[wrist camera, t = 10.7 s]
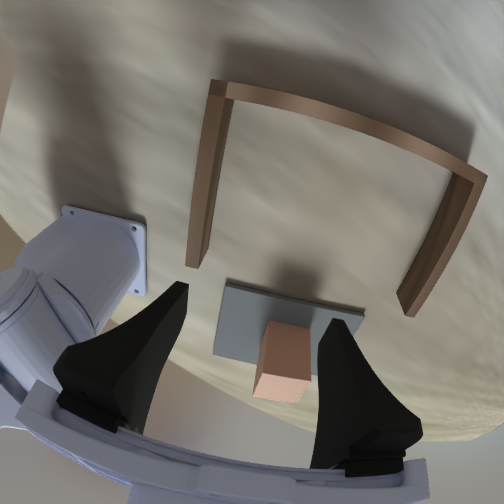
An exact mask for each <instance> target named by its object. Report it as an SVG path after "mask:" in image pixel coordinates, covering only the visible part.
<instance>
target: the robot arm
mask: <svg viewBox="0 0 504 504" xmlns="http://www.w3.org/2000/svg"><path fill="white" fill-rule="evenodd" d="M73 212H74V213H73ZM133 226H135V227H136V229H135V228H134V227H133ZM136 289H137V290H138V291H137V290H136ZM188 289H189V284H186V283H183V282H179V281H176V282H175V283H173V284H172V285H171V286H170V287H169V288H168V289H167V290H166V291H165V292H164V293H163V294H162V295H161V296H159V297H158V298H157V299H156V300H155V301H153V302H152V303H151V304H150V305H149V306H147V307H146V308H145V309H143V310H142V311H141V312H139V313H138V314H137V315H135V316H134V317H132V318H131V319H129V320H128V321H126V322H124V323H123V324H121V325H119V326H117V327H116V328H114V329H112V330H110V331H108V332H106V333H104V334H101V335H99V333H100V331H101V330H102V329H103V327H104V325H105V324H106V322H107V321H108V319H109V318H110V316H111V315H112V313H113V312H114V310H115V309H116V307H117V306H118V304H119V303H120V301H121V300H122V298H123V297H124V296H125V294H126V293H127V292H130V293H133V294H136V295H139V296H145V295H146V293H147V282H146V227H145V225H144V224H142V223H139V222H135V221H131V220H126V219H122V218H118V217H114V216H110V215H106V214H101V213H97V212H93V211H89V210H85V209H80V208H76V207H72V206H68V205H65V206H63V207H62V216H61V217H60V218H59V219H57V220H56V221H55V222H53V223H52V224H51V225H50V226H48V227H47V228H46V229H44V230H43V231H42V232H41V233H39V234H38V235H37V236H36V237H34V238H33V239H32V240H31V241H29V242H28V243H27V244H26V245H25V246H24V247H23V249H22V250H21V252H20V253H19V255H18V258H17V260H16V263H15V267H13V268H11V269H9V270H7V271H5V272H3V273H2V274H0V429H1V428H2V427H12V428H18V429H25V430H28V431H29V432H30V433H31V434H32V435H34V436H35V437H36V438H37V439H39V440H40V441H42V442H43V443H45V444H46V445H48V446H50V447H51V448H53V449H54V450H56V451H58V452H60V453H61V454H63V455H64V456H66V457H68V458H70V459H71V460H73V461H75V462H77V463H79V464H80V465H82V466H84V467H86V468H88V469H90V470H92V471H94V472H96V473H98V474H100V475H102V476H104V477H106V478H108V479H111V480H112V481H115V482H117V483H119V484H122V485H124V486H126V487H129V488H131V492H130V495H129V498H128V501H127V504H417V503H419V502H422V501H425V500H428V499H429V498H430V492H429V482H428V473H427V466H426V459H425V458H422V459H415V460H409V461H405V462H403V457H405V456H406V452H405V450H406V449H407V448H409V447H410V446H412V445H413V444H415V443H416V442H418V441H419V440H420V439H421V438H422V436H423V430H422V425H421V420H420V418H418V417H417V416H416V415H414V414H413V413H412V412H411V411H409V410H408V409H407V408H406V407H405V406H404V405H403V404H402V403H400V402H399V401H398V400H397V399H396V398H395V397H394V396H393V395H392V393H391V392H390V391H389V390H388V389H387V388H386V387H385V385H384V384H383V383H382V382H381V380H380V379H379V378H378V377H377V375H376V374H375V373H374V371H373V370H372V368H371V367H370V365H369V364H368V362H367V360H366V359H365V357H364V356H363V354H362V352H361V350H360V349H359V347H358V345H357V343H356V342H355V340H354V338H353V336H352V334H351V332H350V330H349V328H348V327H347V325H346V323H345V321H344V320H342V319H337V318H332V320H331V322H330V324H329V325H328V327H327V329H326V331H325V333H324V335H323V336H322V338H321V340H320V342H319V343H318V354H317V371H318V389H319V411H318V422H317V431H316V438H315V444H314V450H313V455H312V460H311V465H310V469H304V468H291V467H280V466H271V465H263V464H256V463H249V462H243V461H238V460H232V459H227V458H222V457H217V456H213V455H208V454H204V453H200V452H196V451H192V450H188V449H185V448H181V447H177V446H174V445H171V444H168V443H164V442H161V441H158V440H155V439H152V438H149V437H146V436H144V435H143V430H144V427H145V423H146V419H147V415H148V412H149V408H150V405H151V401H152V398H153V395H154V392H155V389H156V386H157V383H158V380H159V377H160V374H161V371H162V369H163V366H164V364H165V362H166V360H167V358H168V356H169V354H170V352H171V350H172V348H173V346H174V344H175V341H176V339H177V337H178V335H179V333H180V331H181V328H182V326H183V323H184V320H185V317H186V314H187V301H188ZM98 335H99V336H98Z"/></svg>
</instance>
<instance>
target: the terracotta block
mask: <svg viewBox="0 0 504 504" xmlns="http://www.w3.org/2000/svg"><path fill="white" fill-rule="evenodd" d="M310 382H311V339H310V329H309V328H304V327H299V326H294V325H289V324H284V323H279V322H275V321H270V320H269V322H268V324H267V327H266V330H265V333H264V336H263V339H262V342H261V344H260V348H259V355H258V362H257V369H256V376H255V383H254V389H253V396H255V397H260V398H265V399H271V400H277V401H284V402H290V403H296V402H297V401H298V400H299V398H300V397H301V395H302V394H303V393H304V391H305V390H306V388H307V387H308V385H309V384H310Z"/></svg>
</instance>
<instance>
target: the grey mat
mask: <svg viewBox="0 0 504 504" xmlns="http://www.w3.org/2000/svg"><path fill="white" fill-rule="evenodd" d="M332 318H337V319H342V320H344V321H345V323H346V325H347V327H348V328H349V330H350V332H351V334H352V336H353V335H354V334H355V332H356V331H357V329H358V327H359V326H360V324H361V323H362V321H363V319H364V318H365V315H364V313H360V312H355V311H350V310H345V309H340V308H336V307H331V306H326V305H321V304H317V303H312V302H308V301H303V300H299V299H294V298H290V297H285V296H281V295H277V294H272V293H268V292H264V291H259V290H255V289H251V288H247V287H243V286H239V285H235V284H230V283H226V286H225V291H224V296H223V301H222V307H221V312H220V317H219V323H218V328H217V334H216V339H215V345H214V350H213V355H217V356H221V357H226V358H230V359H234V360H238V361H243V362H247V363H252V364H256V365H257V362H258V355H259V348H260V344H261V342H262V339H263V336H264V333H265V330H266V327H267V324H268V322H269V320H270V321H275V322H279V323H284V324H289V325H294V326H299V327H304V328H309V329H310V339H311V375H318V371H317V354H318V343H319V342H320V340H321V338H322V336H323V335H324V333H325V331H326V329H327V327H328V325H329V324H330V322H331V320H332Z"/></svg>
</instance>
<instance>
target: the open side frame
mask: <svg viewBox="0 0 504 504" xmlns="http://www.w3.org/2000/svg"><path fill="white" fill-rule="evenodd" d="M234 99H235V100H241V101H246V102H251V103H256V104H261V105H266V106H270V107H275V108H279V109H283V110H288V111H292V112H296V113H299V114H303V115H307V116H311V117H314V118H318V119H321V120H325V121H328V122H331V123H334V124H338V125H341V126H344V127H347V128H350V129H353V130H356V131H359V132H362V133H364V134H367V135H370V136H373V137H375V138H378V139H381V140H383V141H386V142H388V143H391V144H393V145H396V146H398V147H401V148H403V149H405V150H408V151H410V152H412V153H415V154H417V155H419V156H421V157H424V158H426V159H428V160H430V161H432V162H434V163H436V164H438V165H441V166H443V167H445V168H447V169H449V170H451V171H452V172H454V174H453V176H452V179H451V181H450V184H449V187H448V189H447V192H446V194H445V197H444V199H443V201H442V204H441V206H440V208H439V211H438V213H437V215H436V217H435V220H434V222H433V224H432V226H431V228H430V230H429V233H428V235H427V237H426V239H425V241H424V243H423V245H422V247H421V249H420V251H419V253H418V255H417V257H416V259H415V260H414V262H413V264H412V266H411V268H410V270H409V272H408V273H407V275H406V277H405V279H404V281H403V282H402V284H401V286H400V288H399V289H398V291H397V293H396V294H397V296H398V299H399V301H400V304H401V307H402V309H403V312H404V314H405V316H409V317H415V315H416V314H417V312H418V311H419V309H420V308H421V306H422V305H423V303H424V302H425V300H426V299H427V297H428V296H429V294H430V292H431V291H432V289H433V288H434V286H435V284H436V283H437V281H438V279H439V278H440V276H441V274H442V273H443V271H444V269H445V267H446V265H447V264H448V262H449V260H450V258H451V256H452V255H453V253H454V251H455V249H456V247H457V245H458V243H459V241H460V239H461V237H462V235H463V233H464V231H465V229H466V227H467V225H468V223H469V221H470V218H471V216H472V214H473V212H474V209H475V207H476V205H477V202H478V200H479V198H480V195H481V193H482V190H483V188H484V185H485V182H486V180H487V177H488V176H487V175H486V174H484V173H483V172H481V171H479V170H478V169H476V168H474V167H473V166H471V165H469V164H467V163H466V162H464V161H462V160H460V159H458V158H457V157H455V156H453V155H451V154H449V153H447V152H445V151H443V150H442V149H440V148H438V147H436V146H434V145H432V144H429V143H427V142H425V141H423V140H421V139H419V138H417V137H415V136H412V135H410V134H408V133H406V132H403V131H401V130H399V129H396V128H394V127H391V126H389V125H387V124H384V123H381V122H379V121H376V120H374V119H371V118H368V117H366V116H363V115H360V114H357V113H354V112H351V111H348V110H345V109H342V108H339V107H336V106H333V105H330V104H326V103H323V102H320V101H316V100H312V99H309V98H305V97H301V96H297V95H293V94H289V93H285V92H281V91H276V90H272V89H267V88H262V87H257V86H252V85H246V84H241V83H235V82H228V81H221V80H214V79H211V83H210V88H209V94H208V99H207V104H206V110H205V115H204V121H203V127H202V133H201V139H200V146H199V152H198V159H197V166H196V173H195V180H194V188H193V196H192V204H191V212H190V221H189V231H188V241H187V251H186V263H185V266H188V267H192V268H196V269H198V268H199V266H200V264H201V262H202V260H203V258H204V256H205V254H206V252H207V250H208V247H209V240H210V233H211V227H212V220H213V214H214V208H215V201H216V195H217V189H218V183H219V177H220V172H221V166H222V160H223V155H224V149H225V144H226V139H227V133H228V128H229V123H230V118H231V113H232V108H233V103H234Z"/></svg>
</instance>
